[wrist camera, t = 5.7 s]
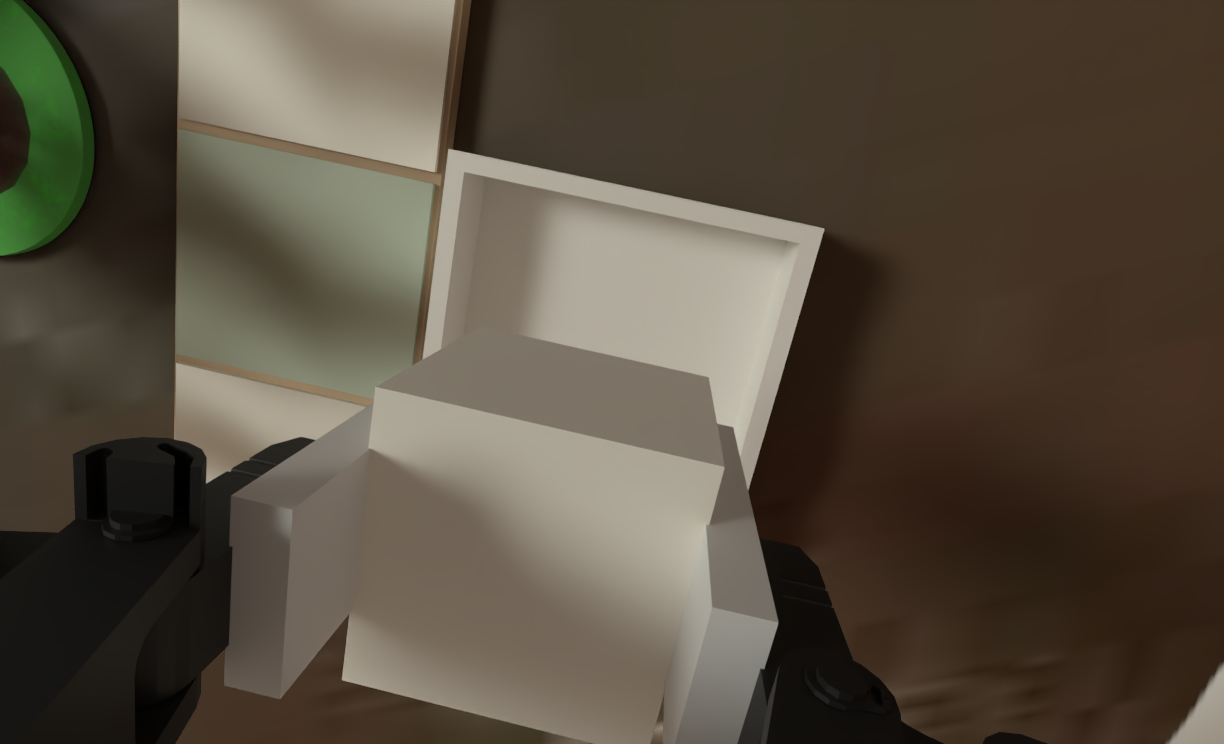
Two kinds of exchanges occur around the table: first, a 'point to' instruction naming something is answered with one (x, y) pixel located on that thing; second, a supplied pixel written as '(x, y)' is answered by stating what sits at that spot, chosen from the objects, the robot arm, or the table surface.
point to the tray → (623, 278)
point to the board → (305, 209)
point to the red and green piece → (39, 133)
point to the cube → (532, 533)
